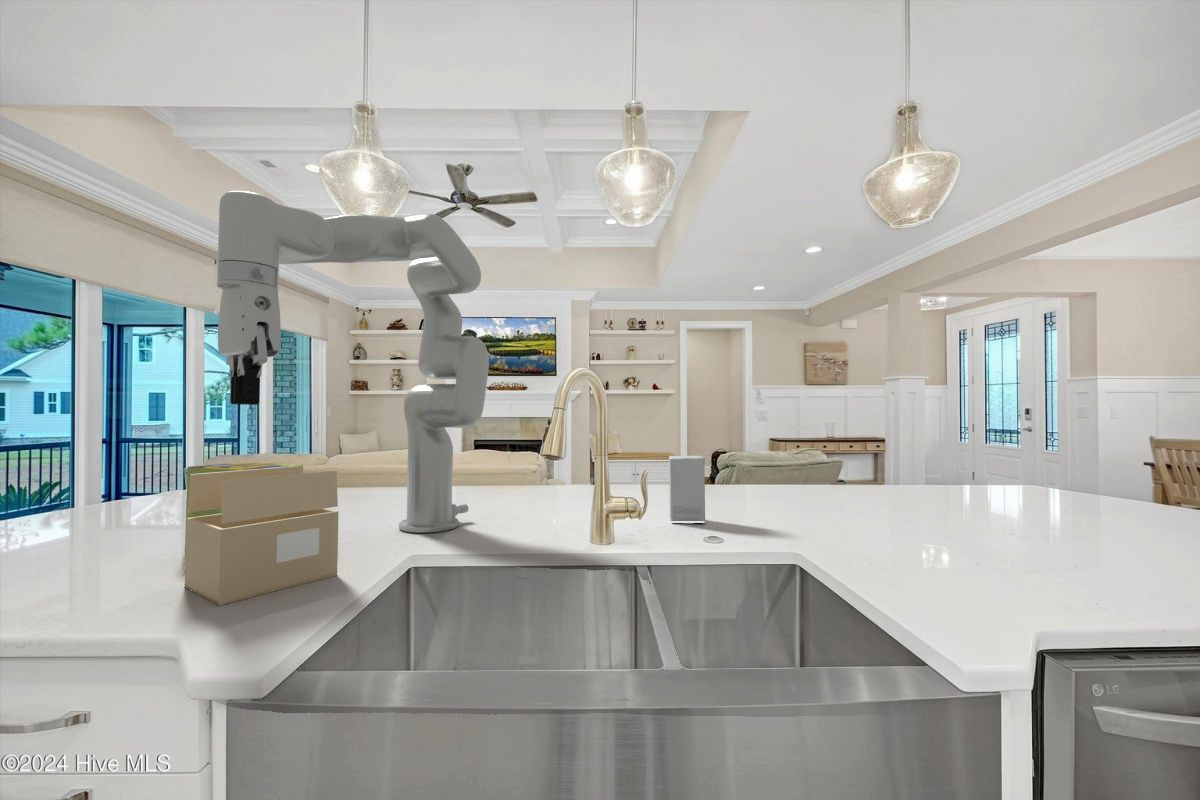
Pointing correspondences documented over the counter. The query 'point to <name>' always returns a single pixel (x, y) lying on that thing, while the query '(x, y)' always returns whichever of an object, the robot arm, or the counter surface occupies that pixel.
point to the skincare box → (687, 488)
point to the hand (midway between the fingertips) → (244, 404)
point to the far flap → (209, 484)
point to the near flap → (277, 495)
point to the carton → (259, 554)
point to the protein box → (223, 469)
